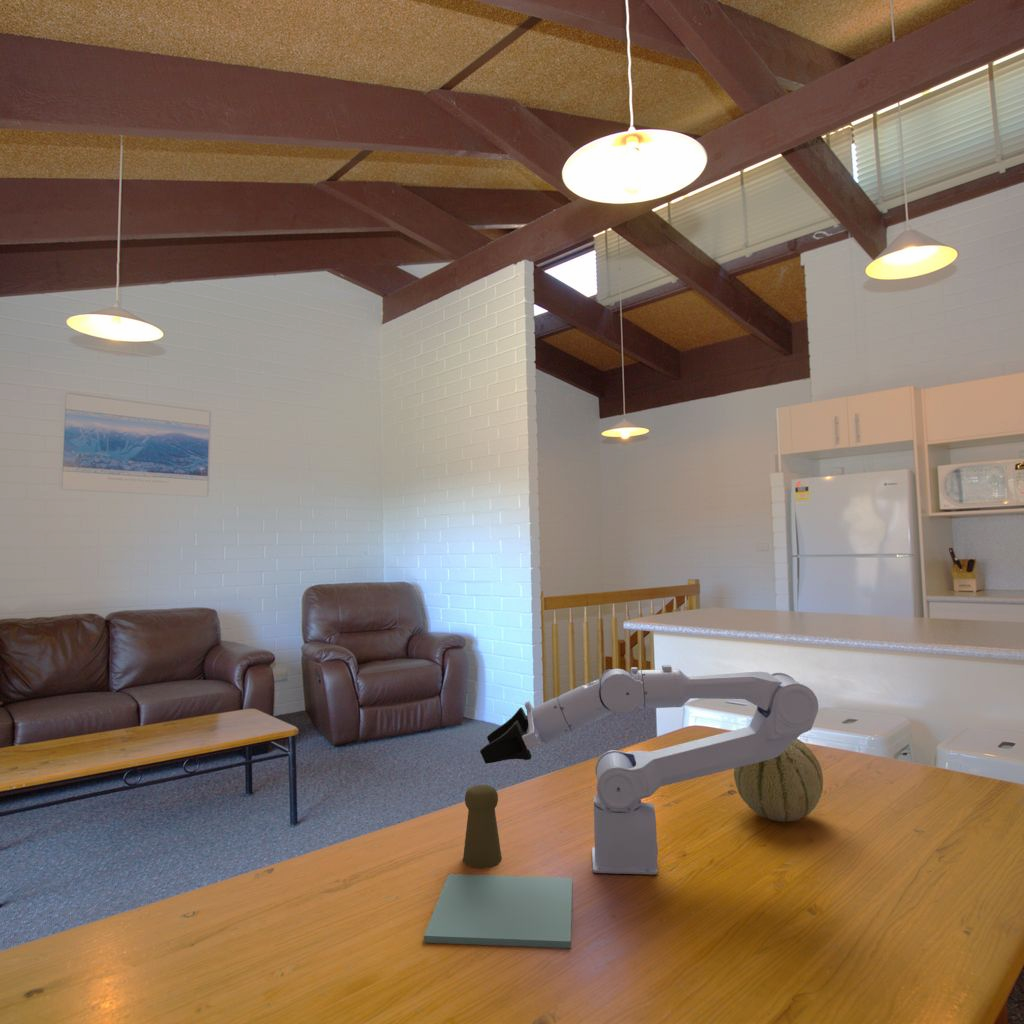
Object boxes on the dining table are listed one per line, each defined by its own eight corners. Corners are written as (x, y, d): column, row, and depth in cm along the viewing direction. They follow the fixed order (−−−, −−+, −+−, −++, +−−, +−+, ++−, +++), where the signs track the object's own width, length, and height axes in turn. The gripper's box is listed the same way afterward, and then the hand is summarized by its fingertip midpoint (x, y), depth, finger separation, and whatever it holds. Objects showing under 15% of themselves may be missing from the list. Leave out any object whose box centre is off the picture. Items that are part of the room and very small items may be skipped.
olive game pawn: (497, 869, 104) (495, 794, 104) (458, 866, 105) (457, 792, 105) (505, 852, 110) (504, 781, 110) (468, 849, 111) (467, 779, 111)
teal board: (572, 883, 99) (572, 877, 99) (570, 948, 83) (570, 941, 83) (448, 879, 101) (448, 874, 101) (423, 942, 85) (423, 935, 85)
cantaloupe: (808, 803, 128) (805, 721, 129) (838, 836, 113) (834, 744, 114) (727, 801, 129) (724, 720, 130) (745, 834, 115) (742, 742, 115)
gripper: (555, 681, 115) (482, 714, 115) (552, 700, 100) (468, 738, 101) (573, 720, 114) (499, 753, 115) (573, 745, 100) (488, 783, 100)
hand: (486, 749), depth 108 cm, fingers open, 7 cm apart
